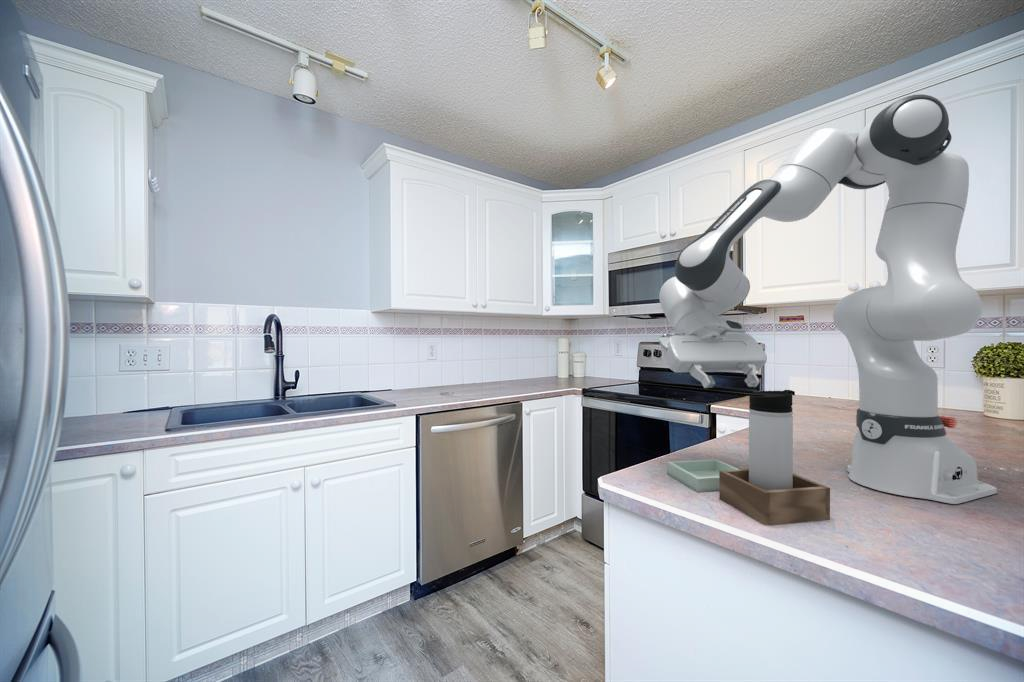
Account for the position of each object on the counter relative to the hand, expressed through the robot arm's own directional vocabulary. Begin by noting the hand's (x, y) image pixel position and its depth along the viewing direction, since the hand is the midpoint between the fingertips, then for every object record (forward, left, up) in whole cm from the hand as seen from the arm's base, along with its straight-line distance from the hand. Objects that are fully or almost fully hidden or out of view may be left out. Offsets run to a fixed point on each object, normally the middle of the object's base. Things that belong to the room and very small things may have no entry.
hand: (732, 385), depth 78 cm
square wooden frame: (0, +9, -20) cm, 22 cm away
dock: (+2, -5, -20) cm, 20 cm away
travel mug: (0, +9, -20) cm, 22 cm away
